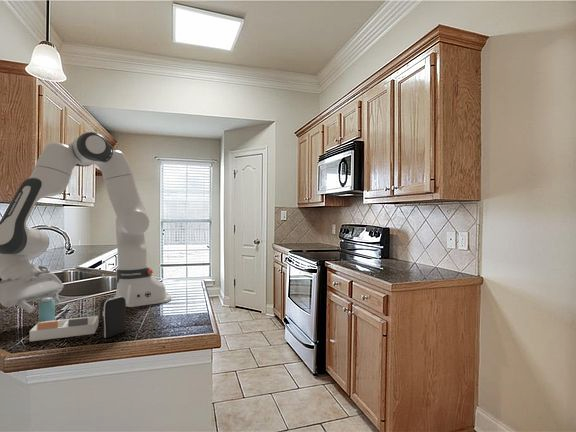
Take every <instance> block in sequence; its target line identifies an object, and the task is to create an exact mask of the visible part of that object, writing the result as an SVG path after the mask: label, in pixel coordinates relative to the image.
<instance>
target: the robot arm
mask: <svg viewBox="0 0 576 432" xmlns="http://www.w3.org/2000/svg"><path fill="white" fill-rule="evenodd" d="M92 165H95V166H96V167H98V169H99V170H100V172H101V175H102V178H103V183H104V186H105V188H106V191H107V196H108V197H109V201H110V203H111V206H112V208H113V210H114V214H115V216H116V218H115V232H116V233H115V234H116V235H115V238H116V248H117V269H116V273H115V275H116V276H115V278H116V279H115V280H116V284H117V285H116V290H115V296H118V297H124V298H125V302H126V308H134V307H135V308H136V307H143V306H148V305H149V306H150V305H156V304H163V303H168V302H170V301H171V300H172V296H171V294H170V293H168V292H167V291H166V286H165V285H164V283H163V282H161V281H160V280H159V279H157V278H155V277H154V276H152V274H153V273H154V271H153V269H152V268H150V267H147V246H146V240H145V232H146V231H148V229H149V227H150V220H149V217H148V214H147V211H146V208H145V206H144V203H143V200H142V199H141V197H140V194H139V192H138V187H137V185H136V181H135V178H134V175H133V172H132V168H131V166H130V164H129V161H128V159H127V156H126V155H125V154H124V152H123V151H120V150H118V149H114V148H113V146H112V145H111V144H110V143H109V142H108V140H107V139H106V138H105V136H103V135H102V134H100V133H98V132H94V131H88V132H84V133H82V134H80V135H79V136H77V137H76V138H74V139H73V141H72V142H71V143H69V144H65V143H62V142H51V143H50V142H49V143H48V144H47V145H46V146H44V149H43V150H42V151H41V153H40V154H39V156H38V159H37V161H36V163H35V166H34V168H33V171H32V173H31V175H30V176H29V177H28V178H27V179H25V180H23V182H22V183H21V184H20V185H19V187H18V189H17V191H16V192H15V194H14V196H13V197H12V200H11V201H10V204H9V206H8V208H7V209H6V211H5V213H4V215H3V217H2V218H1V220H0V279H1V280H0V304H1V306H2V307H4V308H11V307H14V306H17V307H18V308H20V309H23V310H25V311H26V313H28V314H31V313H34V312H35V311H36V310H37V308H36V306H35V305H34V304H30V302H32V301H36V300H41V299H42V298H47V297H52V298H53V300H55V306H57V305H60V304H61V302H62V301H61V299H60V297H59V293H61V291H62V290H63V289H64V284H63V282H62V280H60V278H59V277H58V276H57V275H56V274H55V273H53V272H51V271H52V270H51V268H50V267H49V266H45V265H38V264H37V265H36V264H31V262H30V261H32V260H33V259H34V260H35V259H36V258H37V257H39V256H41V255H42V254H44V253H45V252H46V251H47V250H48V247H50V246H49V245H50V237H49V235H48V234H47V233H46V232H45V231H43V230H40V229H36V228H34V227H29V226H27V222H28V220H29V218H30V215H31V214H32V212H33V209H34V208H35V205H36V204H37V202H39V200H41V199H43V198H48V197H49V198H50V197H55V196H58V195H60V194H62V193H63V192H65V191H66V189H67V187H68V185H69V184H70V180H71V176H72V173H73V170H74V168H75V167H89V166H90V167H91V166H92Z"/></svg>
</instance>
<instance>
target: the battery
mask: <svg viewBox="0 0 576 432" xmlns="http://www.w3.org/2000/svg"><path fill="white" fill-rule="evenodd" d="M126 308H127V307H126V302H125V298H124V297H118V296H116V295H115V296H112V297H111V296H110V297H107V298H104V299H102V300H101V301H100V304H99V317H100V318H102V328H103V329H102V333H101V336H102V338H105V339H108V338H111V337H115V336H118V335H120V334H123V333H126V319H127V318H126V313H127V311H126Z"/></svg>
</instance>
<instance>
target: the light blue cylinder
mask: <svg viewBox="0 0 576 432" xmlns="http://www.w3.org/2000/svg"><path fill="white" fill-rule="evenodd" d="M54 320H56V305H55V300H53V297H50V296H48V297H44V298H40V301H38V322H44V321H54Z"/></svg>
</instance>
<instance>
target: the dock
mask: <svg viewBox="0 0 576 432" xmlns="http://www.w3.org/2000/svg"><path fill="white" fill-rule="evenodd" d="M98 327H99V315H94V316H93V315H92V316H86V317H85V316H84V317H76V318H75V317H74V318H66V319H55V320H54V321H44V322H39V321H38V322H37V323H36V324H35V325H34V326H33V327H32V328H31V329H30V330H29V342H35V341H36V342H37V341H45V340H51V339H53V340H54V339H55V340H56V339H61V338H71V337H78V336H79V337H80V336H86V335H94V334H95V333H96V331H97V329H98Z"/></svg>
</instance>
